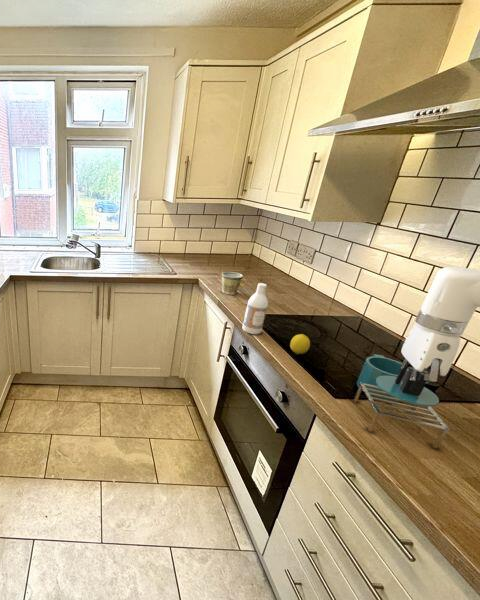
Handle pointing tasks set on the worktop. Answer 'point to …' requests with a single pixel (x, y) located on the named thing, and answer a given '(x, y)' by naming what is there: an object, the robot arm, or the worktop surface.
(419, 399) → the lid
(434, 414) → the rack
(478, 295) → the robot arm
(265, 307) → the bath foam
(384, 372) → the pot
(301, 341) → the lemon
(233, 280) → the ceramic cup
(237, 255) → the worktop surface
